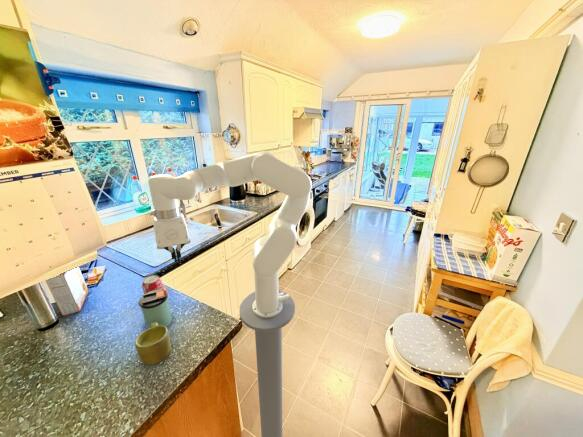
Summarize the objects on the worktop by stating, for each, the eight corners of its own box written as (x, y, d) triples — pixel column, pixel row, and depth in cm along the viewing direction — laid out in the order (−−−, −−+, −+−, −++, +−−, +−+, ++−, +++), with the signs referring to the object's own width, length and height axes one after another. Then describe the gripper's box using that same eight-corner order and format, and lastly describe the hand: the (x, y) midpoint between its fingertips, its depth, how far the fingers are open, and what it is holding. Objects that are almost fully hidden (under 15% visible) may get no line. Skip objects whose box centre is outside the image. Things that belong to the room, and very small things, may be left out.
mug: (172, 361, 73) (157, 335, 71) (140, 376, 72) (123, 350, 69) (183, 335, 85) (170, 312, 82) (155, 347, 84) (141, 325, 81)
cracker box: (72, 295, 103) (55, 254, 96) (89, 291, 106) (74, 250, 98) (60, 317, 92) (40, 271, 84) (80, 312, 94) (62, 267, 87)
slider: (166, 290, 88) (165, 285, 88) (167, 296, 86) (165, 290, 85) (156, 293, 87) (155, 288, 86) (156, 298, 84) (155, 293, 83)
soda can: (144, 303, 99) (137, 280, 94) (160, 294, 104) (155, 272, 100) (152, 310, 95) (146, 286, 91) (169, 301, 101) (164, 277, 96)
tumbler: (172, 310, 95) (166, 285, 91) (173, 326, 88) (167, 299, 83) (146, 318, 91) (138, 292, 87) (145, 336, 84) (137, 308, 79)
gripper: (141, 220, 72) (153, 270, 78) (193, 212, 78) (200, 259, 85) (142, 212, 78) (153, 260, 85) (190, 206, 84) (197, 250, 91)
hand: (177, 259), depth 85 cm, fingers closed
